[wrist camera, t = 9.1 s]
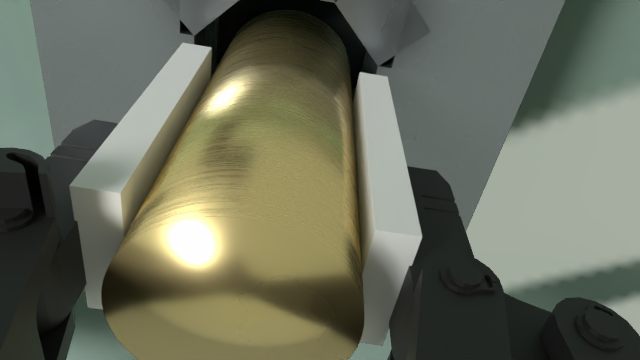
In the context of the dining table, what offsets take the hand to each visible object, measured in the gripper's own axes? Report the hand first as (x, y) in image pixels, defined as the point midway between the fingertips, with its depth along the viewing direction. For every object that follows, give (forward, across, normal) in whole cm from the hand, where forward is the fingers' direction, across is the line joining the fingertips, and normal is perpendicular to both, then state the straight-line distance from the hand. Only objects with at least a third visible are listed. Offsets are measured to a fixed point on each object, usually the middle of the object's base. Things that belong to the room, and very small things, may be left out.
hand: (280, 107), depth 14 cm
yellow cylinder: (+3, 0, 0) cm, 3 cm away
